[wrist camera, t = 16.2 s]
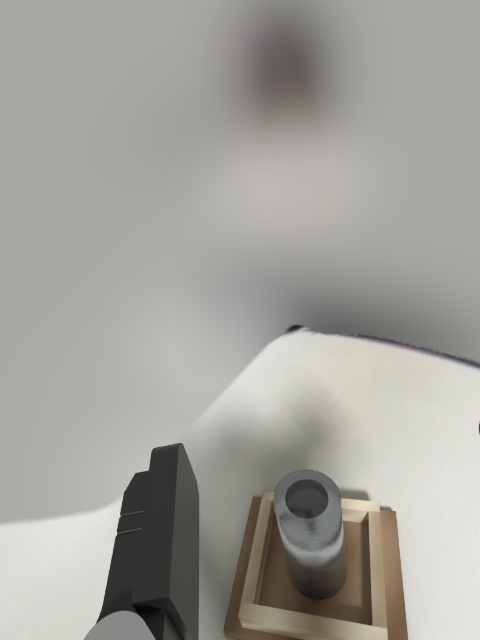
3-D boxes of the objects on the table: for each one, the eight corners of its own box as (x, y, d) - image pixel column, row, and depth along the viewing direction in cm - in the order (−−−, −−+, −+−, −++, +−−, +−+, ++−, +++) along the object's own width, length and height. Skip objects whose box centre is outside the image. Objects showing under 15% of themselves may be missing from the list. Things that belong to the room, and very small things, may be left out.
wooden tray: (225, 636, 33) (218, 619, 31) (254, 502, 42) (250, 484, 41) (410, 675, 29) (412, 659, 27) (395, 517, 38) (396, 498, 37)
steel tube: (284, 594, 33) (267, 526, 28) (292, 535, 38) (278, 466, 32) (346, 604, 32) (340, 535, 27) (346, 543, 36) (341, 472, 31)
